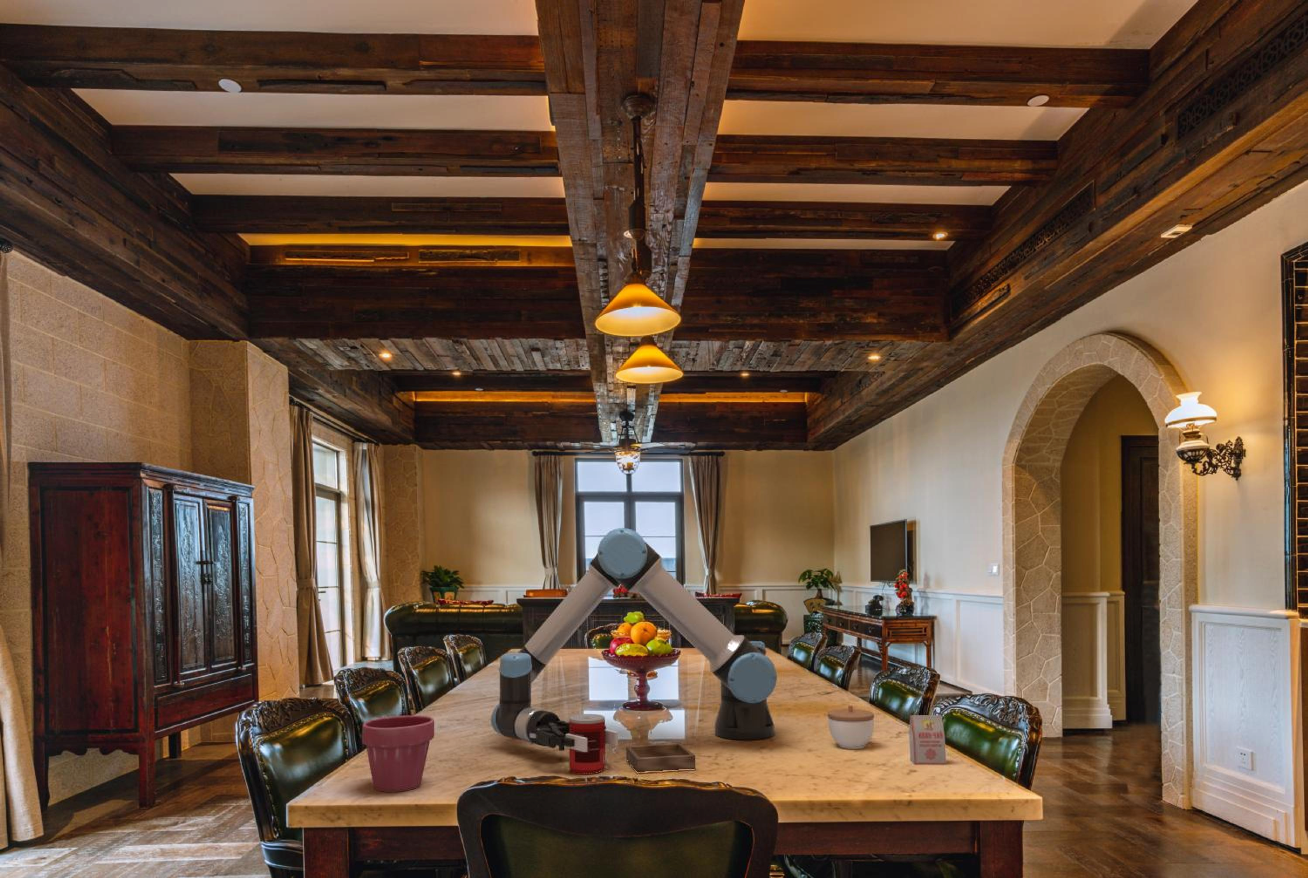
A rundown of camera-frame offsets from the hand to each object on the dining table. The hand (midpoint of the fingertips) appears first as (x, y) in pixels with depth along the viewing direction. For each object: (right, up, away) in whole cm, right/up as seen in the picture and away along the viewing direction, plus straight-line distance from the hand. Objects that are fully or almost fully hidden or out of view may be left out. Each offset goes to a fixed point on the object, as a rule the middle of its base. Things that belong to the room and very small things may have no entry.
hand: (601, 741), depth 186 cm
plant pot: (-41, -6, -9) cm, 42 cm away
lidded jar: (+58, -9, +22) cm, 63 cm away
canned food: (-3, -7, +3) cm, 8 cm away
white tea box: (+71, -7, +6) cm, 71 cm away
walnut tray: (+12, -7, +6) cm, 16 cm away
